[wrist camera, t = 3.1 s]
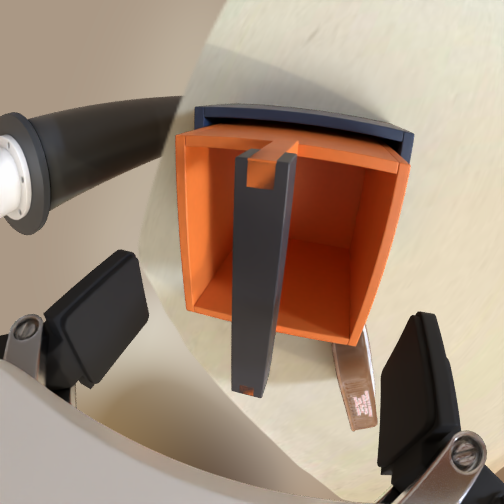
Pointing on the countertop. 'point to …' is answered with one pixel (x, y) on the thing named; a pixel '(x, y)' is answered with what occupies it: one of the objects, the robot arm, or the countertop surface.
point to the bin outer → (307, 122)
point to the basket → (284, 232)
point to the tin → (356, 381)
